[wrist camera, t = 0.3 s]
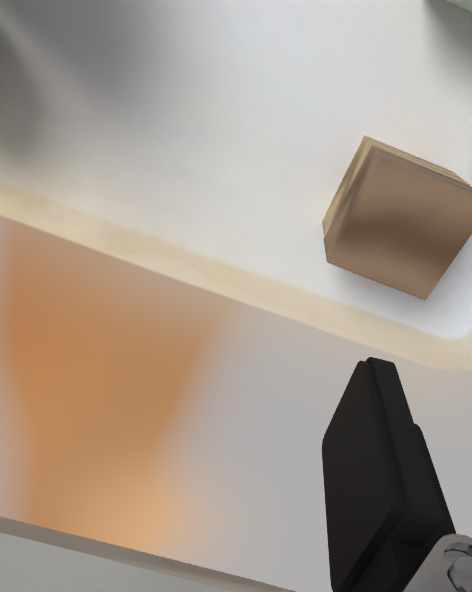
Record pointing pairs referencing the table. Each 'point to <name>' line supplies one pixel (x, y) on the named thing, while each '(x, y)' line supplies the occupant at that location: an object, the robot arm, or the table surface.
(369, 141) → the oak slab
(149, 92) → the table surface
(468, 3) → the sage cube
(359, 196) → the walnut slab
